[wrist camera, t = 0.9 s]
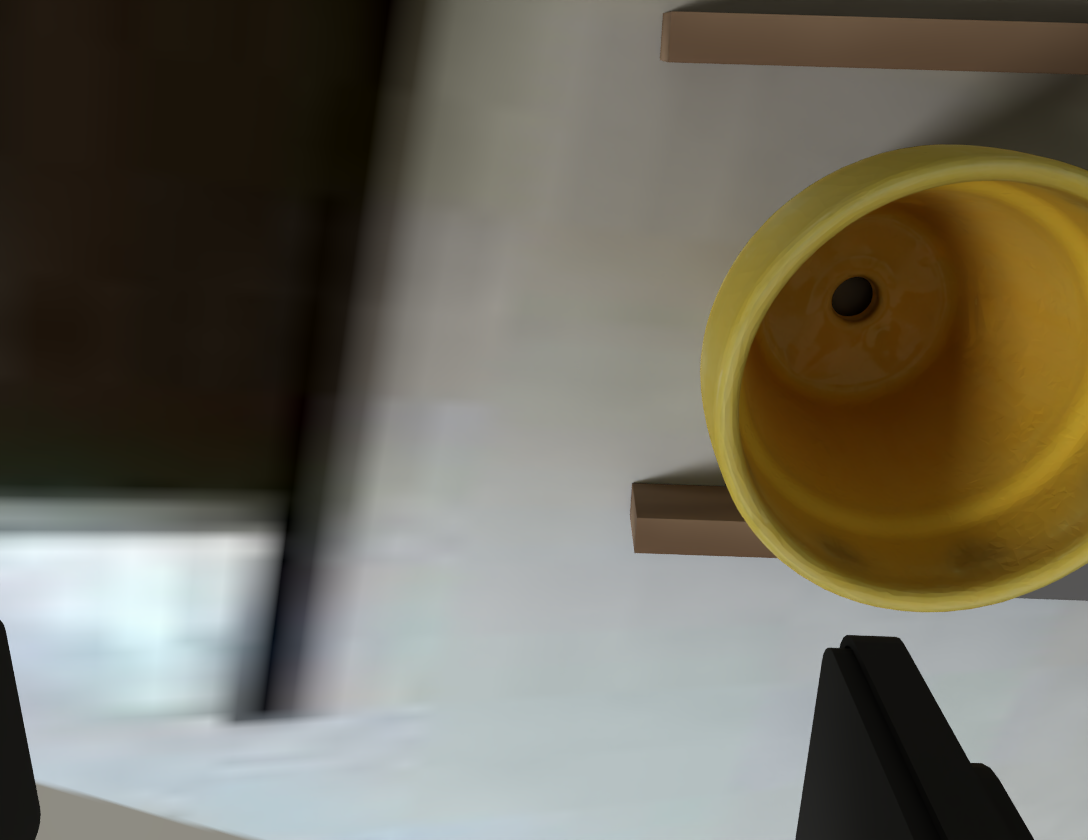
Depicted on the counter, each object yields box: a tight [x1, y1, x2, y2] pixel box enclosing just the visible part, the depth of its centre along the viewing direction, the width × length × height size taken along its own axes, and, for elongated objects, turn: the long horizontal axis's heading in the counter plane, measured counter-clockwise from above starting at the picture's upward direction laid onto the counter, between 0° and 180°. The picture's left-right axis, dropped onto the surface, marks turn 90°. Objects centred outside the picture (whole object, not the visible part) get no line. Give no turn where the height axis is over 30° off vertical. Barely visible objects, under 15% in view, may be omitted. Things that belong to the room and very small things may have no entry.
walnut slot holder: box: [630, 11, 1088, 558], centre depth 29 cm, size 15×12×2 cm
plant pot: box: [700, 144, 1088, 612], centre depth 25 cm, size 10×10×10 cm
